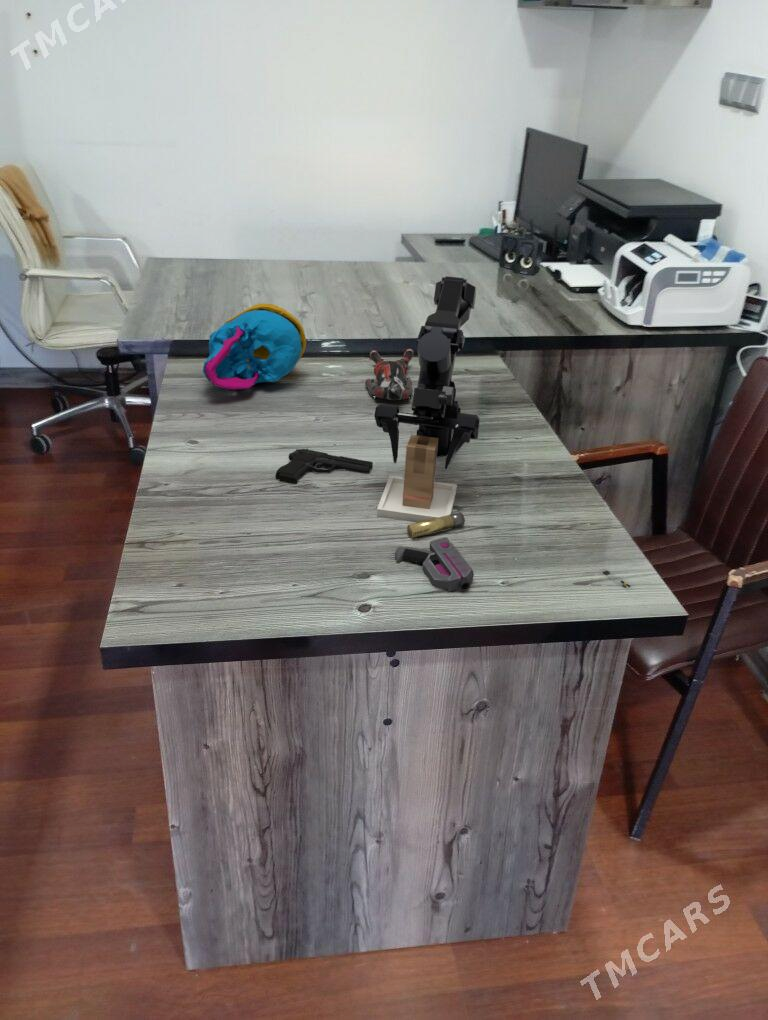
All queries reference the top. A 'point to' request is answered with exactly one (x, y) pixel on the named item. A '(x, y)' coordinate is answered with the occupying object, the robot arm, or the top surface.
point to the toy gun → (440, 564)
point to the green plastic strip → (613, 578)
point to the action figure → (391, 377)
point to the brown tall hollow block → (420, 471)
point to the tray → (394, 509)
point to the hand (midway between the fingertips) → (420, 465)
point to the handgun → (311, 459)
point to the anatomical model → (254, 347)
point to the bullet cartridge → (435, 525)
